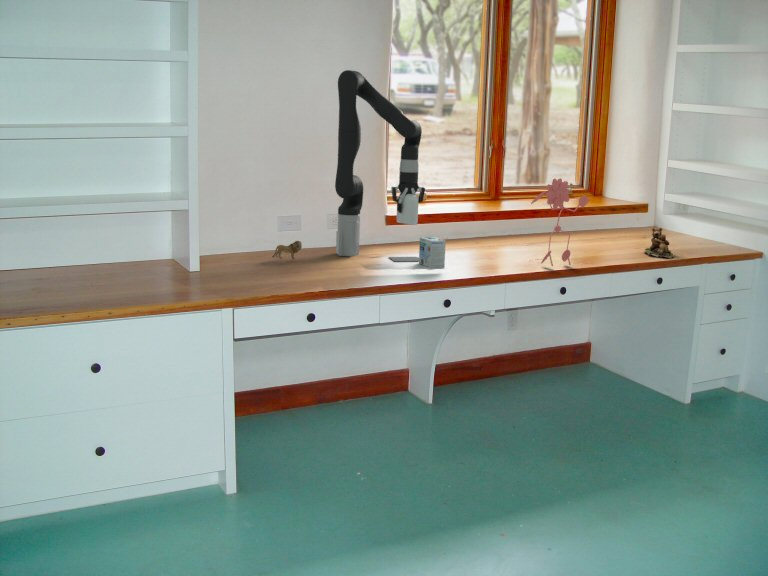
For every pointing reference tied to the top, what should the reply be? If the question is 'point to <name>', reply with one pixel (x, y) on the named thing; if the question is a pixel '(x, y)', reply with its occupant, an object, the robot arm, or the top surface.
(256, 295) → the top surface
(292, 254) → the lion figurine
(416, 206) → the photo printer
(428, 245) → the light bulb box
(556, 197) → the figurine
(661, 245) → the bear figurine
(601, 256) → the top surface
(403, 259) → the slate pad
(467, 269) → the top surface
